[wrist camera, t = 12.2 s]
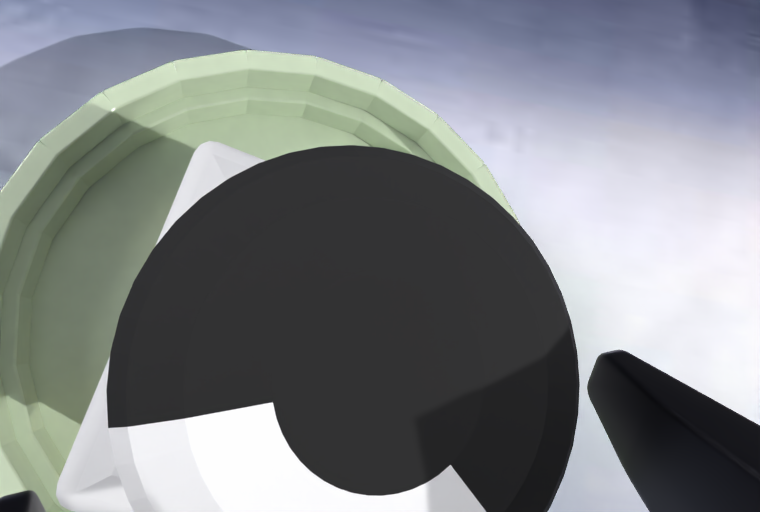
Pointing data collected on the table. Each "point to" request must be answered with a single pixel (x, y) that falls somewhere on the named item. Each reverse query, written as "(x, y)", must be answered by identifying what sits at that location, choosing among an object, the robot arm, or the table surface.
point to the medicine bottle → (332, 348)
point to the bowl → (154, 214)
